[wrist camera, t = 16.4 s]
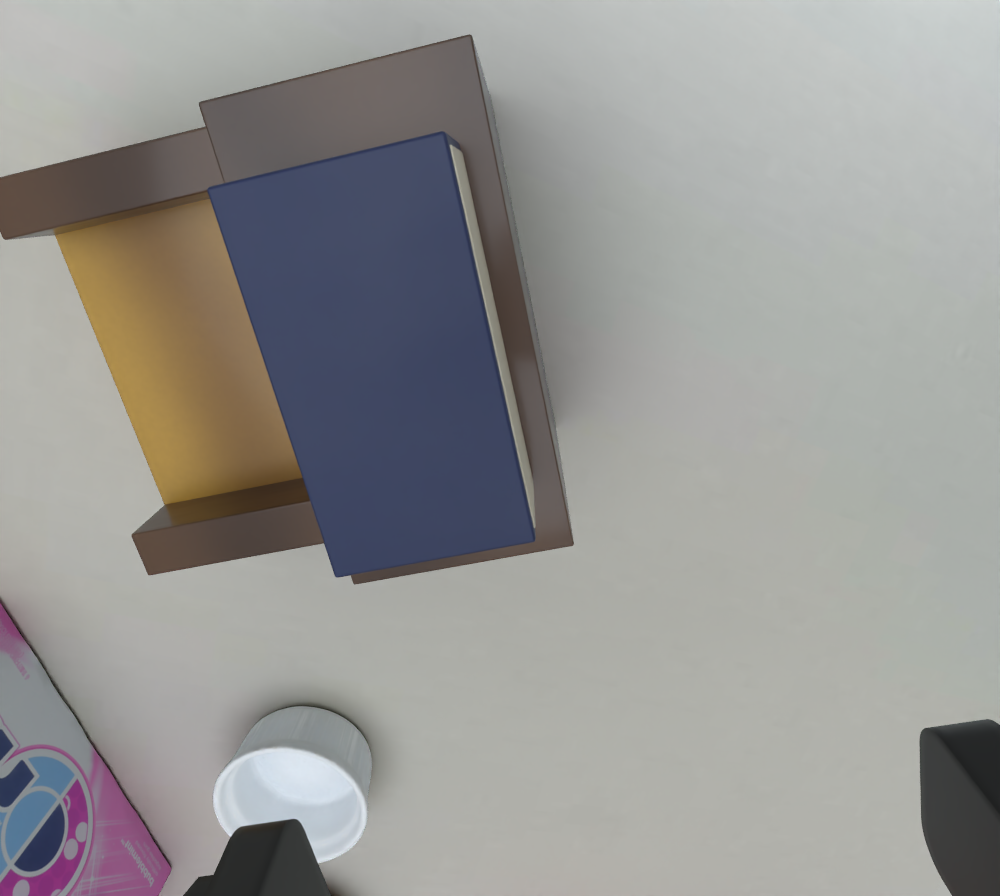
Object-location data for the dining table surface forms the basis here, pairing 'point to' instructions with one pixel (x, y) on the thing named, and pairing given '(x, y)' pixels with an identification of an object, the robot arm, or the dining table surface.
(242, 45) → the dining table surface
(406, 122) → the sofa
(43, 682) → the gum box
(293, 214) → the book
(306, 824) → the ramekin
